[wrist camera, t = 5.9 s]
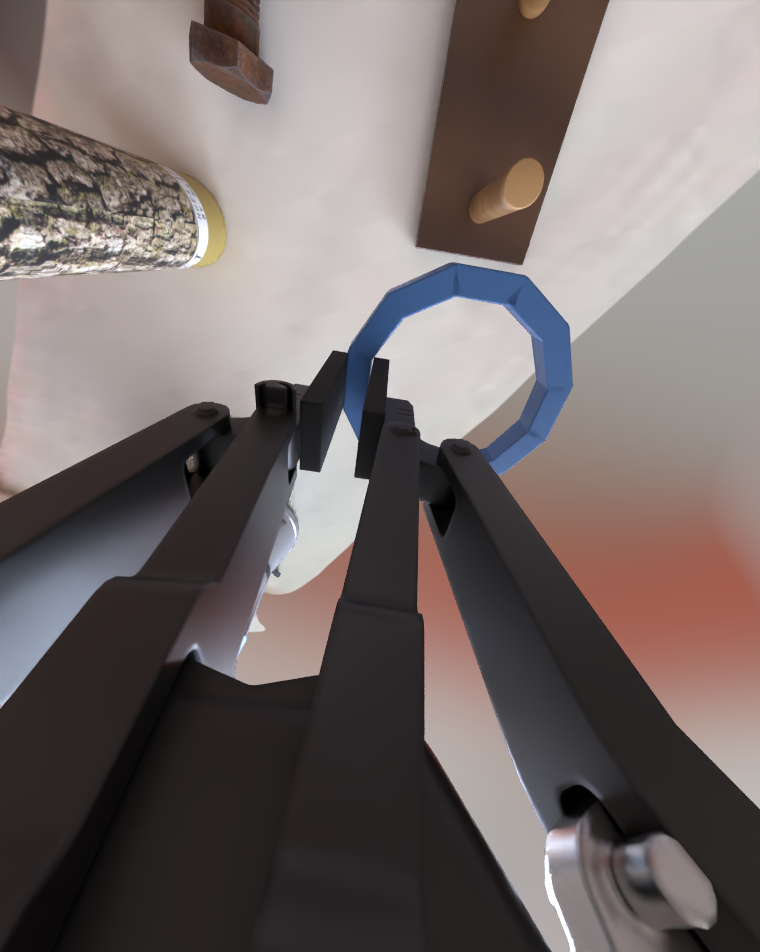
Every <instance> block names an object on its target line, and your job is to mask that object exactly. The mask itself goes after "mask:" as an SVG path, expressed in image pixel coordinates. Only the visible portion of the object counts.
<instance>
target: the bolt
mask: <svg viewBox="0 0 760 952" xmlns="http://www.w3.org/2000/svg"><path fill="white" fill-rule="evenodd" d="M259 4H260V0H205V4H204V25H202V24H199V23H197V22H195V21H191V26H190V33H189V52H190V63H191V64H192V65H193V66H194V68H195V69H196V70H197V71H198V72H199V73H201V74H202V75H203V76H204V77H205V78H206V79H208V80H209V81H211V82H212V83H214V84H216V85H218V86H219V87H221V88H223V89H224V90H226V91H228V92H230V93H232V94H234V95H236V96H238V97H240V98H242V99H244V100H247V101H251V102H255V103H258V104H267V103H268V101H269V99H270V96H271V93H272V82H273V70H272V69H271V68H270V67H269V66H268V65H267V64H265V63H264V62H263V61H262V60H261V59H260V58H258V54H259V35H260V32H259V24H258V20H259V14H258V13H259V10H260V8H259V6H258V5H259Z"/></svg>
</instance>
